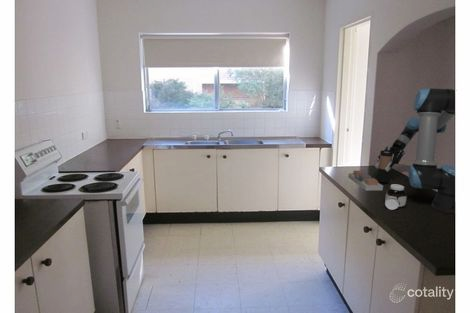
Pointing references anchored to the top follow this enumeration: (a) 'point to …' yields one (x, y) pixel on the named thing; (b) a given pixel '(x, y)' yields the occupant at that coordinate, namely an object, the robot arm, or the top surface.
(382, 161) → the travel mug
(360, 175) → the middle key
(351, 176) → the grey tray
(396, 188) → the spread jar
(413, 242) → the top surface
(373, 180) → the key
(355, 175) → the key
